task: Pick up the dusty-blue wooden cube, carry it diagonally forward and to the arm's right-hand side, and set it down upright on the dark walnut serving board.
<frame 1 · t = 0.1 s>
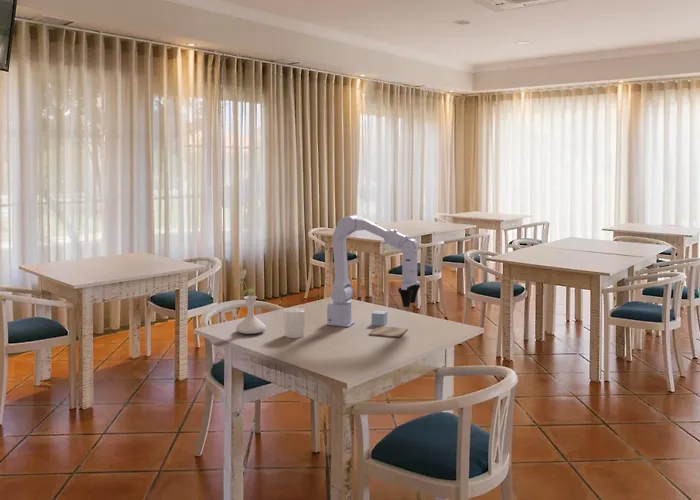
hand: (409, 304, 244), 10 cm above the table, fingers open, 7 cm apart
walnut board: (388, 332, 242), on the table
white cup: (294, 336, 238), on the table
blue cube: (379, 324, 255), on the table
flower in vase: (249, 333, 242), on the table
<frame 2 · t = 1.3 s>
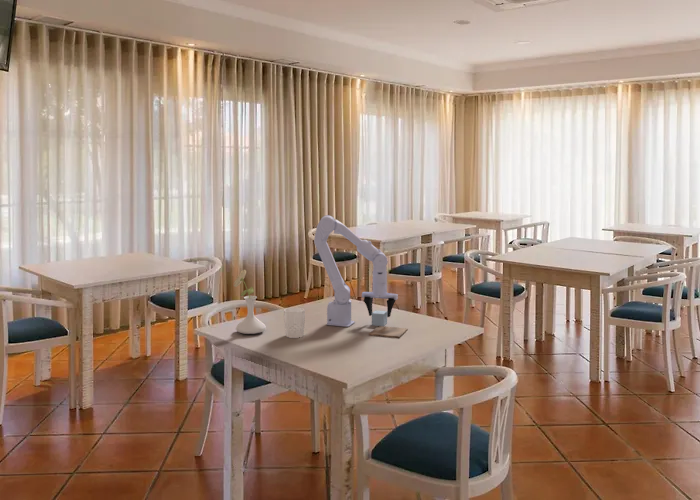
hand: (379, 315, 254), 3 cm above the table, fingers open, 7 cm apart
nothing on the table moved.
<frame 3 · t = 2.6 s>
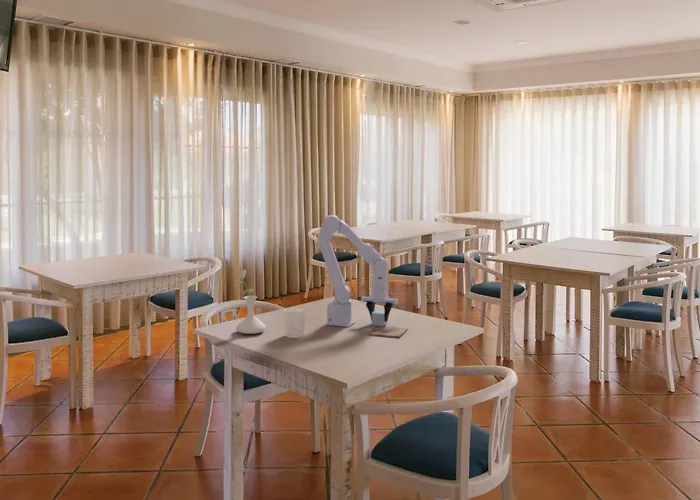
hand: (379, 320, 254), 1 cm above the table, fingers closed on blue cube, 5 cm apart
blue cube: (379, 324, 255), on the table, touching gripper
everything else where it was.
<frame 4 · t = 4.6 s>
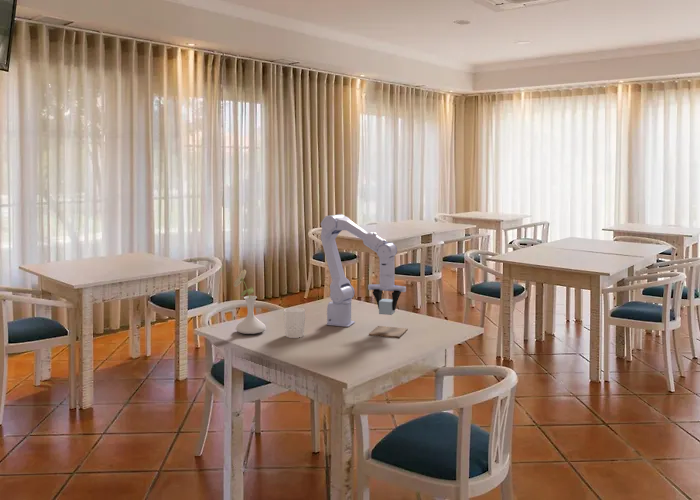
hand: (386, 309, 243), 8 cm above the table, fingers closed on blue cube, 5 cm apart
blue cube: (387, 313, 244), point 7 cm above the table, touching gripper
everything else where it was.
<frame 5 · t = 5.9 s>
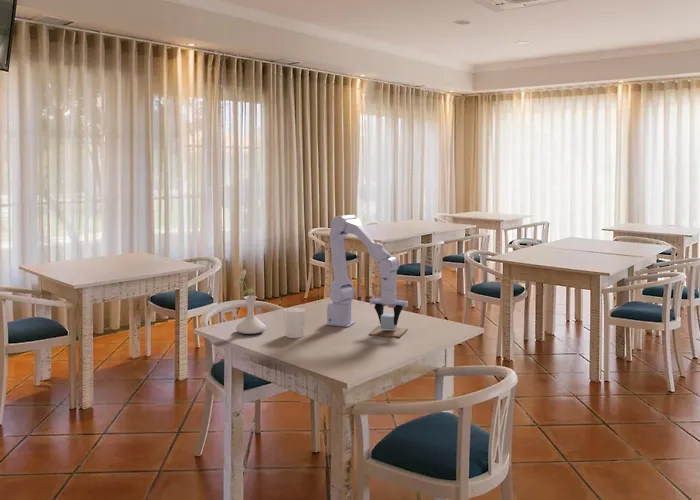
hand: (388, 323, 241), 3 cm above the table, fingers closed on blue cube, 5 cm apart
blue cube: (388, 327, 242), point 2 cm above the table, touching gripper
everything else where it was.
when the fingers open (3 cm above the table, at t = 6.7 s): blue cube drops 1 cm, resting on walnut board.
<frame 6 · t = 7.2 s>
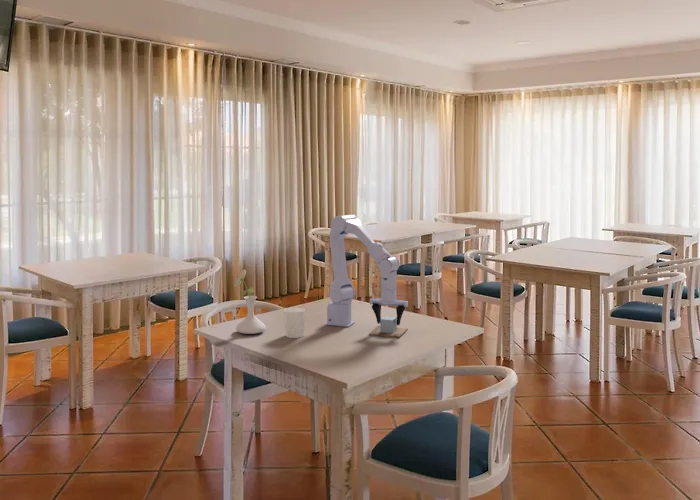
hand: (388, 323, 241), 3 cm above the table, fingers open, 7 cm apart
blue cube: (388, 330, 242), point 1 cm above the table, touching walnut board
everything else where it was.
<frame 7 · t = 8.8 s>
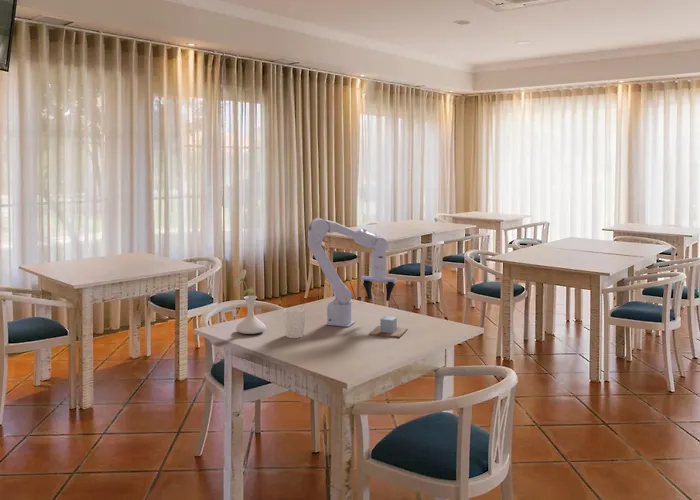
hand: (378, 299, 256), 9 cm above the table, fingers open, 7 cm apart
nothing on the table moved.
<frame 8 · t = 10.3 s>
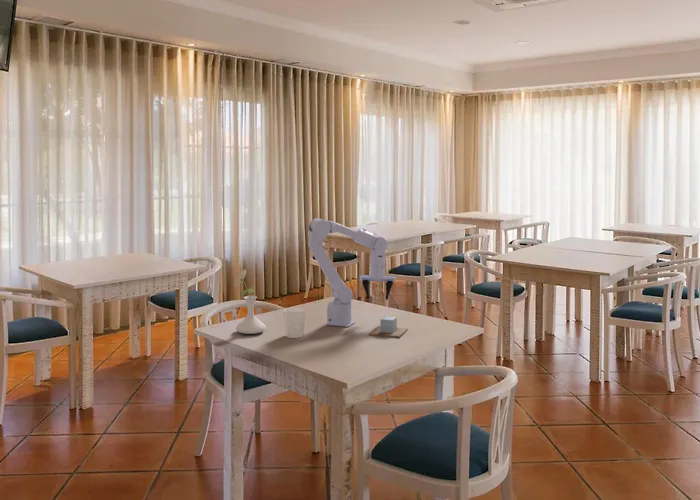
hand: (377, 298, 258), 9 cm above the table, fingers open, 7 cm apart
nothing on the table moved.
at the end: blue cube inside the target area on the walnut board (0.1 cm from its centre), point 0.6 cm above the walnut board's base; blue cube tilted 0°; the gripper is holding nothing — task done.
